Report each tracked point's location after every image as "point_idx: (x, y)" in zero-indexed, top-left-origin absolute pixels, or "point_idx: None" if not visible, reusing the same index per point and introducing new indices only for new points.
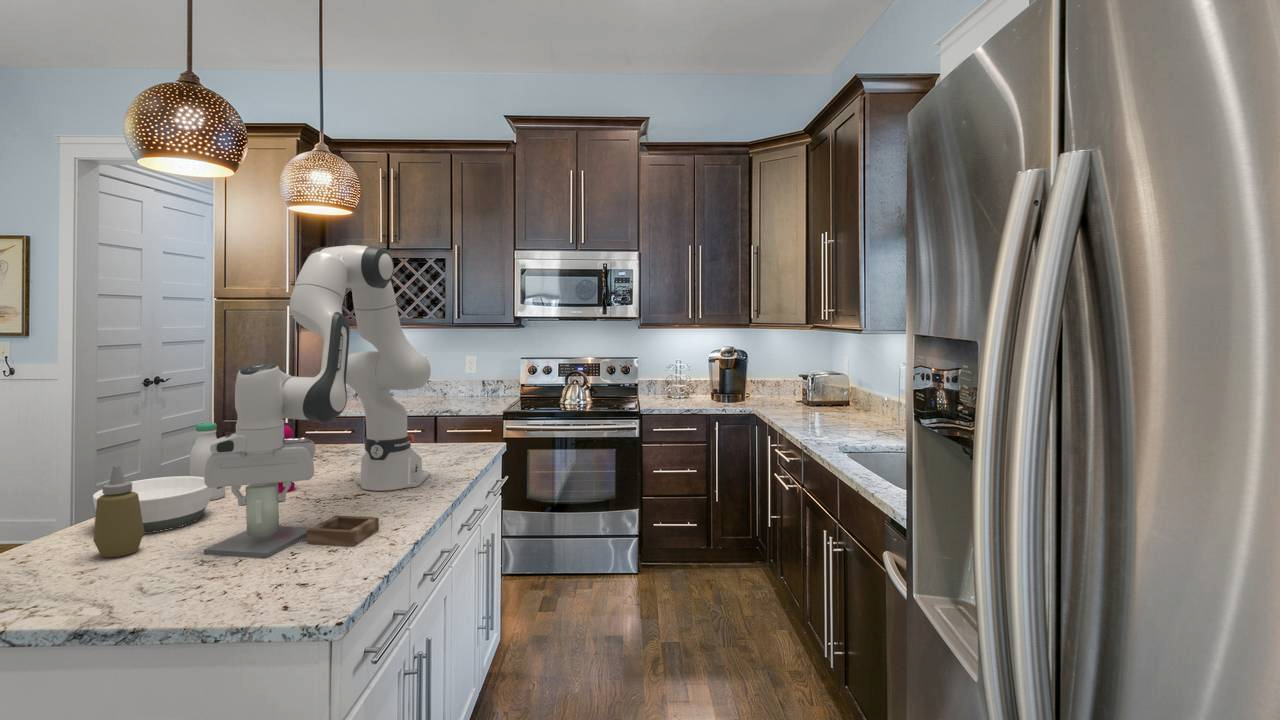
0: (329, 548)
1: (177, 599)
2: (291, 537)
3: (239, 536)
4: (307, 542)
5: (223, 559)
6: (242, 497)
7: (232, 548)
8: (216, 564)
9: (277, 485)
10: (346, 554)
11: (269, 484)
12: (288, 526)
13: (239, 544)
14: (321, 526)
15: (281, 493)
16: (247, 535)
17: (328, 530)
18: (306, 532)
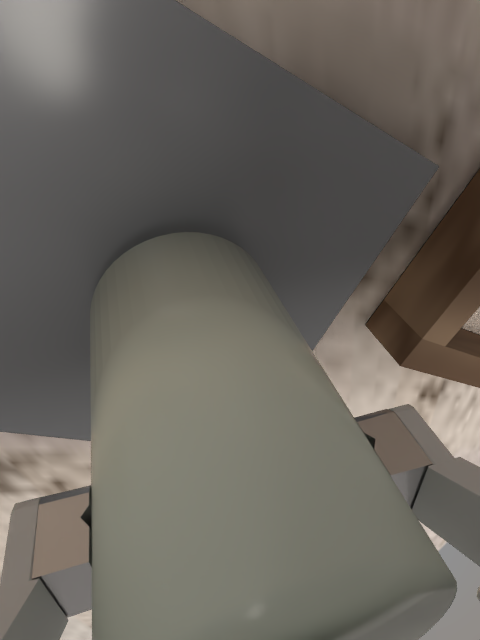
0: (426, 374)
1: (87, 623)
2: (315, 308)
3: (6, 242)
4: (369, 329)
5: (69, 449)
6: (67, 604)
7: (74, 416)
8: (67, 484)
9: (439, 613)
10: (455, 419)
11: (369, 619)
12: (290, 80)
13: (84, 374)
14: (465, 320)
15: (415, 483)
16: (55, 231)
17: (473, 376)
18: (383, 242)
